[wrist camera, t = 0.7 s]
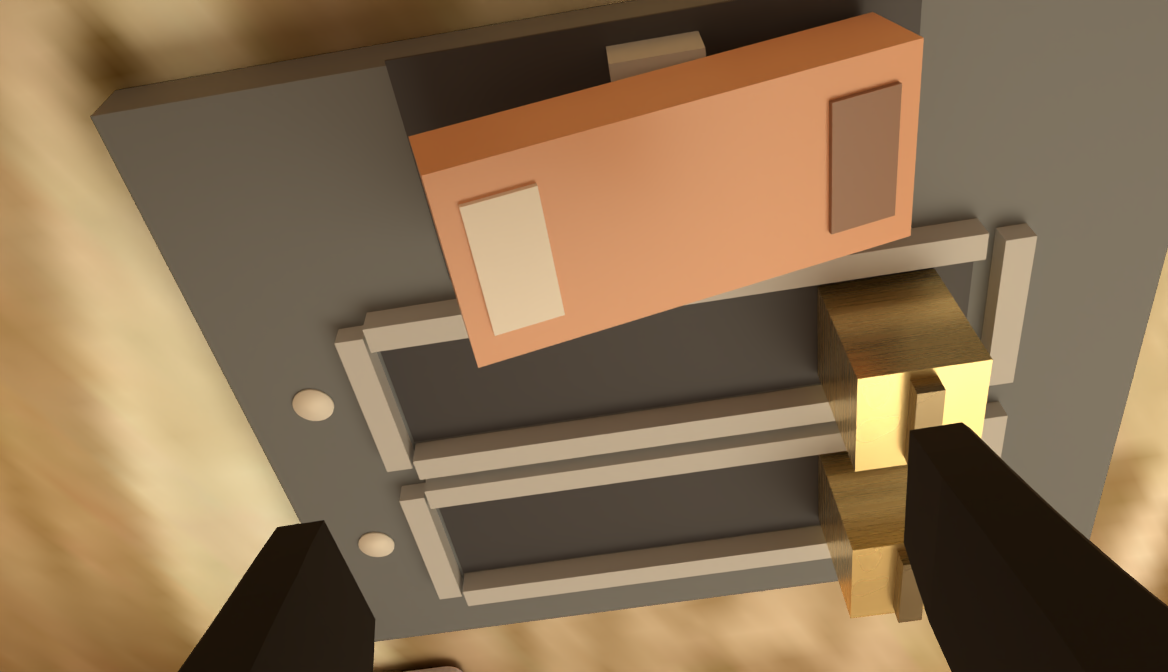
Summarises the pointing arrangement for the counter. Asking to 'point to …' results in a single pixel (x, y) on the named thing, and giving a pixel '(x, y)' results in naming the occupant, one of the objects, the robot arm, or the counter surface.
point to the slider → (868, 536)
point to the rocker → (675, 183)
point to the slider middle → (897, 363)
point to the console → (657, 342)
